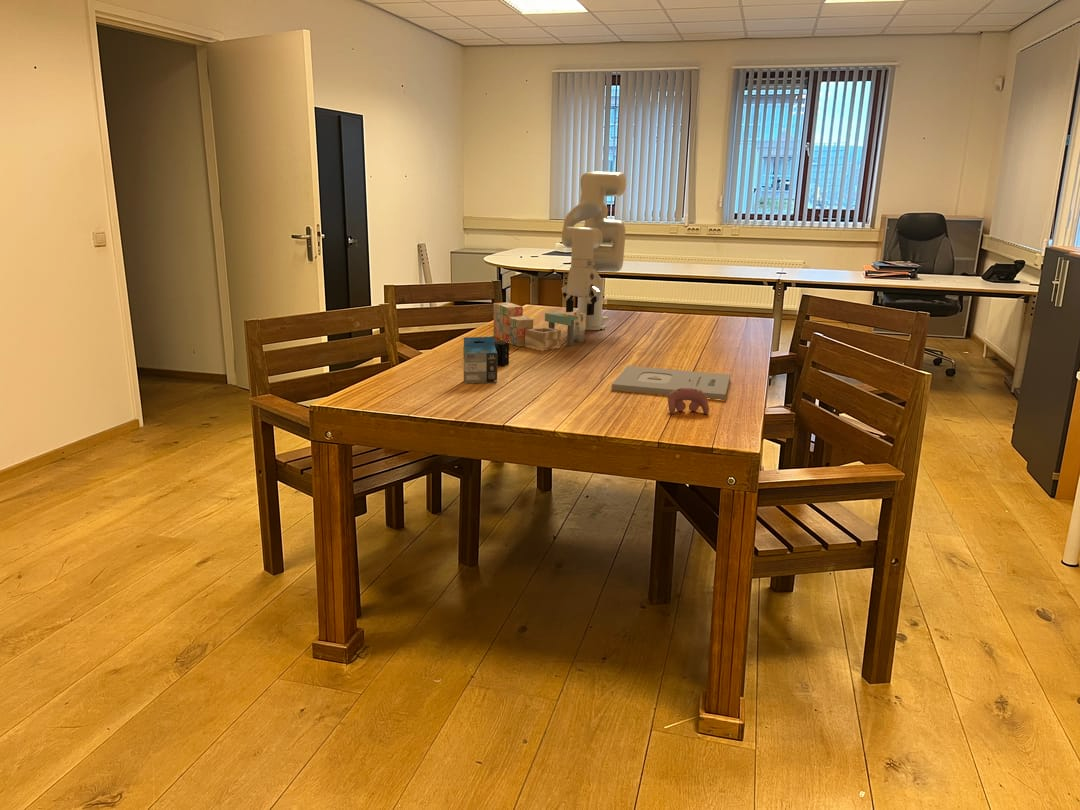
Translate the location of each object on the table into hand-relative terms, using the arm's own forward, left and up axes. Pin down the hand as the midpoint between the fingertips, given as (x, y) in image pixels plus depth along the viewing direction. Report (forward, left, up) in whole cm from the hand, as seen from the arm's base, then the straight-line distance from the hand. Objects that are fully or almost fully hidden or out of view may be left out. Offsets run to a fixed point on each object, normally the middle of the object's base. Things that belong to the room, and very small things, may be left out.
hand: (579, 313), depth 274 cm
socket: (+18, 0, -10) cm, 20 cm away
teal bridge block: (+7, -2, -10) cm, 13 cm away
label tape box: (+66, +23, -10) cm, 71 cm away
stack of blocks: (+17, -16, -10) cm, 26 cm away
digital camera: (+49, +7, -10) cm, 51 cm away
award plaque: (+27, +59, -11) cm, 66 cm away
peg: (-1, 0, -10) cm, 10 cm away
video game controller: (+48, +78, -10) cm, 92 cm away
